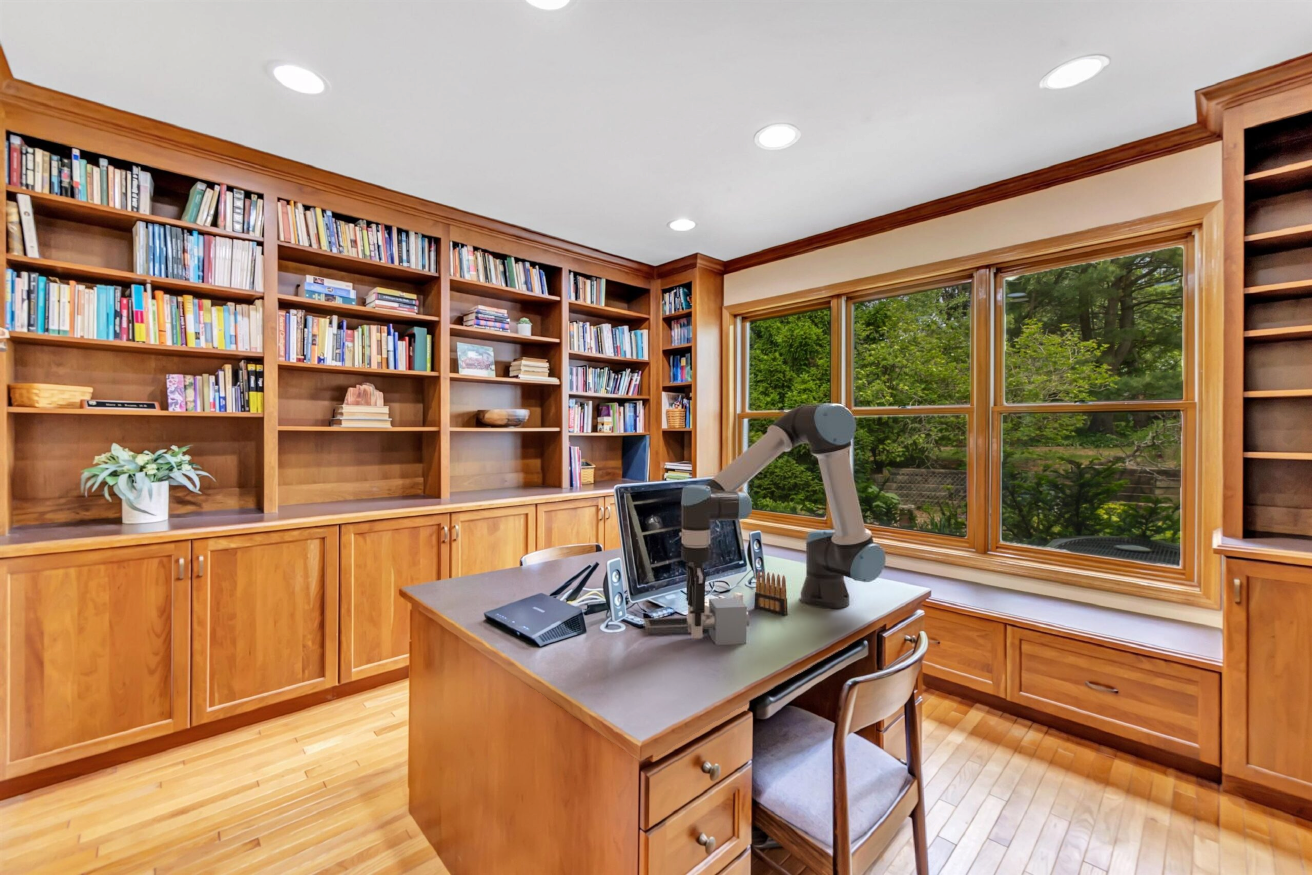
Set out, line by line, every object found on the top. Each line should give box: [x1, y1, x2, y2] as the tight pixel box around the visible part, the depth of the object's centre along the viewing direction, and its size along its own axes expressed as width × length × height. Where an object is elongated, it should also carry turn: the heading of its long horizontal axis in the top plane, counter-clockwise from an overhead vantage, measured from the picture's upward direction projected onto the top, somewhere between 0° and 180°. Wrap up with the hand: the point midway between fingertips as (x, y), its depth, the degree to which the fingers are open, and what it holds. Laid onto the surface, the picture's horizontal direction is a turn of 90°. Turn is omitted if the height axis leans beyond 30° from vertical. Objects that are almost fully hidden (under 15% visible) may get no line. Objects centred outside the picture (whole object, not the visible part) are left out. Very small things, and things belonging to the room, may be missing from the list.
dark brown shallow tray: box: [643, 616, 709, 636], centre depth 152 cm, size 21×7×2 cm, turn 98°
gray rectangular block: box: [708, 597, 748, 646], centre depth 145 cm, size 8×8×10 cm
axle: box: [685, 611, 750, 629], centre depth 144 cm, size 16×4×4 cm, turn 97°
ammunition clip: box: [753, 569, 789, 617], centre depth 167 cm, size 11×2×12 cm, turn 46°
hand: (695, 634), depth 144 cm, fingers closed on axle, 4 cm apart
